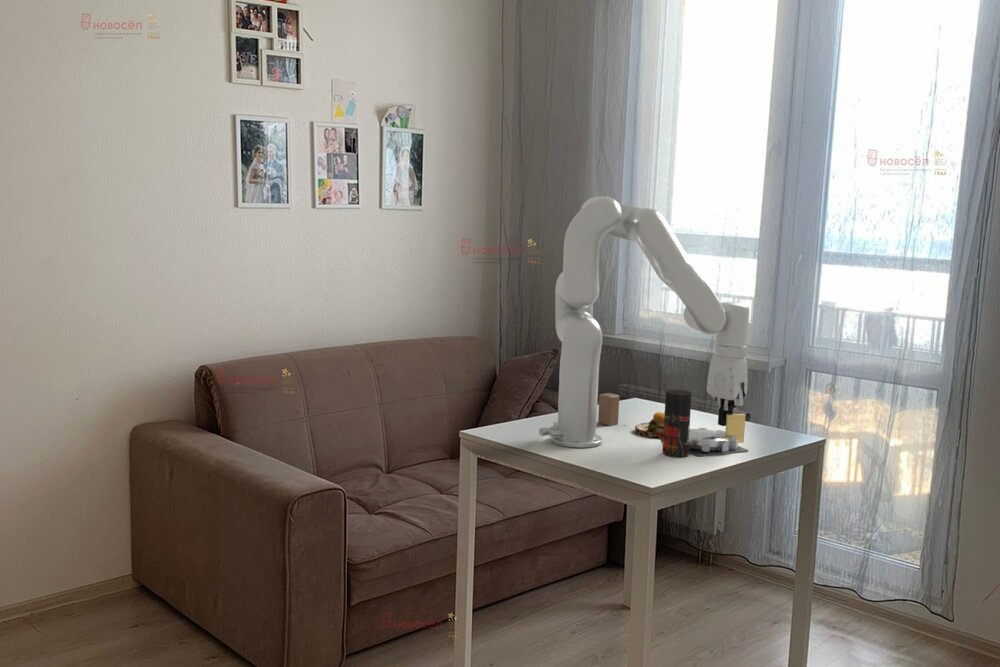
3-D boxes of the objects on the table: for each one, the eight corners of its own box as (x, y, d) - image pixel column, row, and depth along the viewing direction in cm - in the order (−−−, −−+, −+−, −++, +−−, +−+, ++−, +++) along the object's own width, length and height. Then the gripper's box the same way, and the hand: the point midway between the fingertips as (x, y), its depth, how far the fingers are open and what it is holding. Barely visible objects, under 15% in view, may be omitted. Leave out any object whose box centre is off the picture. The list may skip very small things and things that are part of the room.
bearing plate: (695, 457, 216) (695, 454, 216) (657, 441, 229) (658, 439, 229) (748, 451, 223) (748, 449, 223) (709, 436, 236) (709, 434, 236)
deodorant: (660, 450, 221) (664, 389, 219) (685, 451, 221) (689, 390, 219) (664, 457, 215) (667, 394, 213) (689, 458, 215) (693, 395, 213)
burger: (674, 429, 245) (676, 401, 244) (686, 440, 233) (688, 411, 232) (630, 428, 244) (631, 400, 243) (640, 439, 232) (641, 410, 231)
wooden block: (618, 424, 247) (620, 395, 246) (608, 426, 244) (610, 396, 243) (607, 421, 250) (608, 392, 249) (597, 423, 247) (598, 394, 246)
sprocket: (683, 451, 217) (685, 422, 216) (662, 435, 233) (663, 407, 232) (755, 451, 220) (758, 421, 219) (730, 435, 235) (732, 407, 234)
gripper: (698, 348, 232) (693, 419, 234) (739, 357, 219) (733, 433, 221) (722, 347, 235) (716, 417, 238) (763, 356, 222) (757, 430, 225)
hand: (724, 424), depth 229 cm, fingers closed
